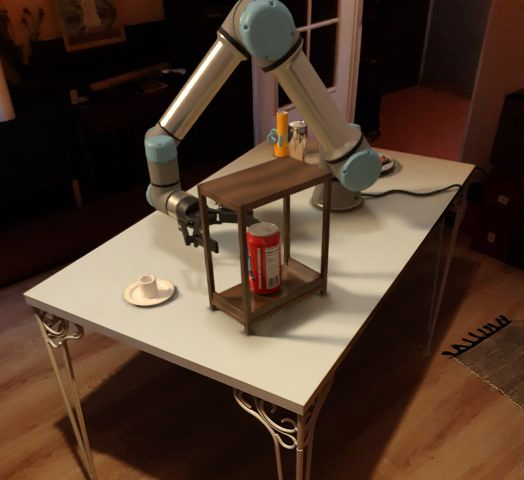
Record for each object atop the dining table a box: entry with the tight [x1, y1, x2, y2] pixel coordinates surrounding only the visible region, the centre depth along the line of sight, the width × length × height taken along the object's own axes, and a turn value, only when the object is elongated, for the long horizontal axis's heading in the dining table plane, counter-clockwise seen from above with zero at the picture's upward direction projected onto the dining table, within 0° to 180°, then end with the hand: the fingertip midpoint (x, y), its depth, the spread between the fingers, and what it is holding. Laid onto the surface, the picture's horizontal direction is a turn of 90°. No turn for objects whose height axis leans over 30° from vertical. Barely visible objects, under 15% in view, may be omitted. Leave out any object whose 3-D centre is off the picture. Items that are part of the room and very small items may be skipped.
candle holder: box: [123, 274, 175, 306], centre depth 135 cm, size 12×12×4 cm
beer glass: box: [287, 120, 309, 162], centre depth 194 cm, size 7×7×15 cm
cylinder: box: [266, 110, 290, 158], centre depth 204 cm, size 12×10×15 cm
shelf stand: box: [196, 155, 332, 336], centre depth 123 cm, size 14×24×30 cm, turn 130°
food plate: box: [374, 150, 396, 173], centre depth 197 cm, size 25×23×4 cm
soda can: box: [247, 221, 283, 294], centre depth 126 cm, size 8×8×15 cm
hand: (240, 238), depth 130 cm, fingers open, 13 cm apart
